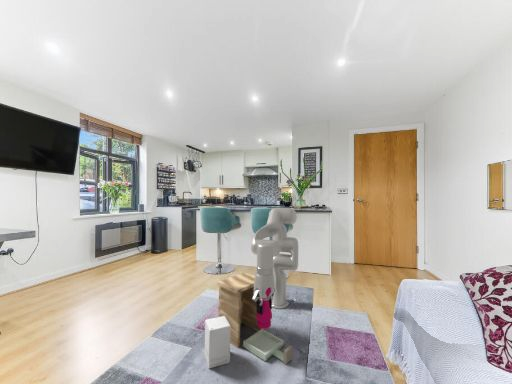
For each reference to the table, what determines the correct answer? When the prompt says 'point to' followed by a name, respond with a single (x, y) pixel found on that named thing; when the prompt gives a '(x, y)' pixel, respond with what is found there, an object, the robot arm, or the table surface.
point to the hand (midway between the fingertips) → (264, 310)
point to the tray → (267, 346)
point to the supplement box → (217, 341)
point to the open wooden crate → (238, 304)
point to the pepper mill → (265, 313)
